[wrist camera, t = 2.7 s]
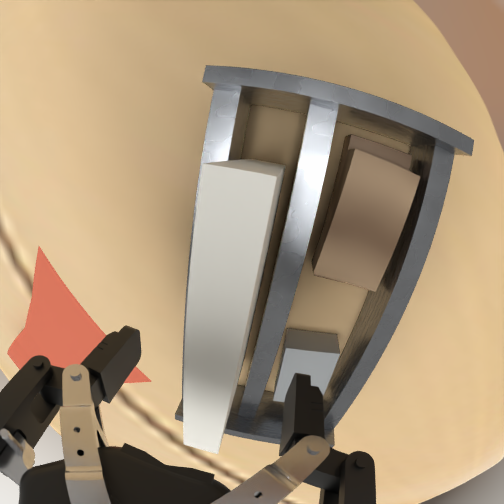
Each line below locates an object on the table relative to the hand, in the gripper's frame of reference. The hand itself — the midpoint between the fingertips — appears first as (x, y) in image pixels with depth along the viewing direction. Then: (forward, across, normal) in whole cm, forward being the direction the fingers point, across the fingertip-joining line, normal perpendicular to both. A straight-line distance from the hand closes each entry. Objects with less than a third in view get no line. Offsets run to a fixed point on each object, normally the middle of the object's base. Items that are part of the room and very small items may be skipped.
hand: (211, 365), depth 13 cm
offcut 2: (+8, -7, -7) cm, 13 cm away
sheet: (+11, +24, +19) cm, 33 cm away
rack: (+10, -4, 0) cm, 11 cm away
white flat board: (+10, 0, 0) cm, 10 cm away
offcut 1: (+11, -7, +7) cm, 15 cm away
